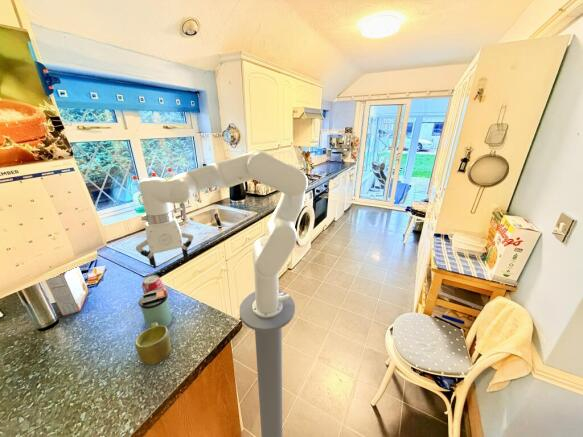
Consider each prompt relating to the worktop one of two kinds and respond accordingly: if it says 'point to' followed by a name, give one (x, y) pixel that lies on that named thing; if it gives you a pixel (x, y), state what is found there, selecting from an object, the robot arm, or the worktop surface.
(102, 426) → the worktop surface
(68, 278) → the cracker box
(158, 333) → the mug
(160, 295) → the slider
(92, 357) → the worktop surface
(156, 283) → the soda can
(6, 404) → the worktop surface
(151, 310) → the tumbler
